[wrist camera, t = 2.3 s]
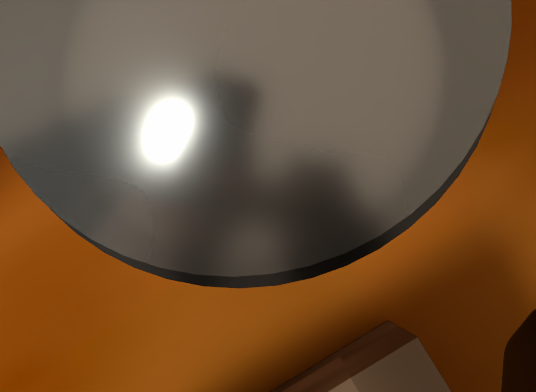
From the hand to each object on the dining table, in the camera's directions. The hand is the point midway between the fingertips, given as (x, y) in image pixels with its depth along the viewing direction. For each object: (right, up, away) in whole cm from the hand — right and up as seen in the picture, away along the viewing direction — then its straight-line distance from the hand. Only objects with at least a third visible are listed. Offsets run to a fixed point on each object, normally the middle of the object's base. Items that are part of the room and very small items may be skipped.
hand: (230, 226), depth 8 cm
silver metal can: (+1, 0, +9) cm, 9 cm away
